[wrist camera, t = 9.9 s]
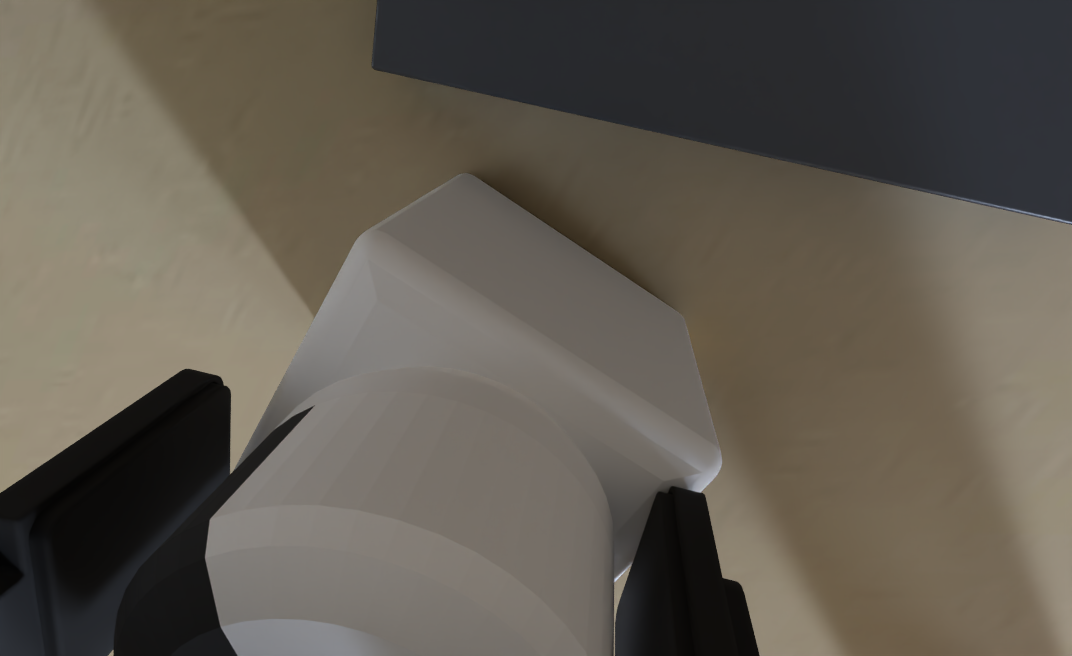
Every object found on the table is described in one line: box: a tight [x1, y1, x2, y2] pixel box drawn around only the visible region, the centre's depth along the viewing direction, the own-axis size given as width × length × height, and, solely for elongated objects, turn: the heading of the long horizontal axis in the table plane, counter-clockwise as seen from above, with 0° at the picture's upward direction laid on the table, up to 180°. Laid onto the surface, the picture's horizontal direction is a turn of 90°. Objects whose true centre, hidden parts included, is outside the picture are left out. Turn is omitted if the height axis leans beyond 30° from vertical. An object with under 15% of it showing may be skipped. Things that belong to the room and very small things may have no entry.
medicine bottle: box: [114, 173, 722, 656], centre depth 12 cm, size 7×7×12 cm
